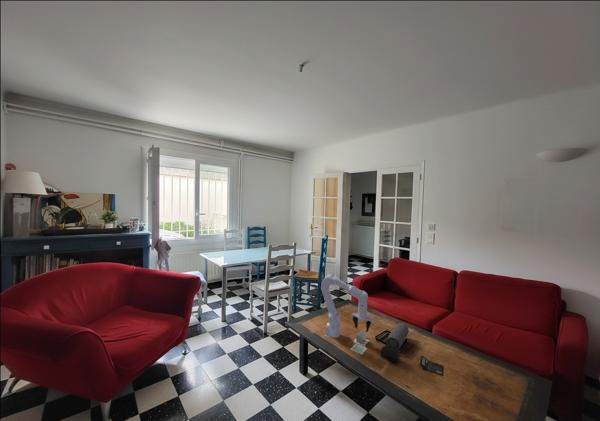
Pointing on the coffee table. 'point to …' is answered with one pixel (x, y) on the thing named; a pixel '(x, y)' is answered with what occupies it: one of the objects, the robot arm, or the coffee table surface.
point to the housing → (361, 337)
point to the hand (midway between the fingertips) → (361, 329)
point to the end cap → (390, 354)
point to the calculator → (431, 366)
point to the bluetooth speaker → (397, 336)
